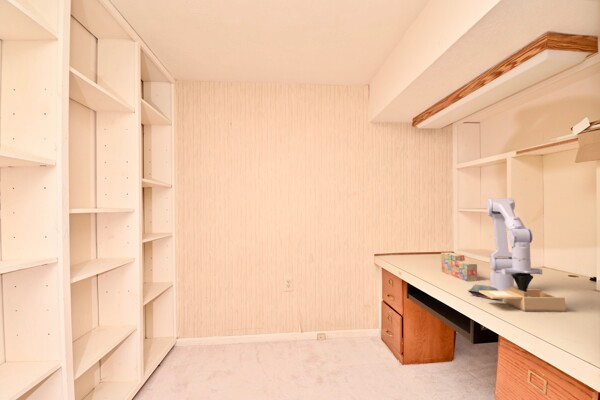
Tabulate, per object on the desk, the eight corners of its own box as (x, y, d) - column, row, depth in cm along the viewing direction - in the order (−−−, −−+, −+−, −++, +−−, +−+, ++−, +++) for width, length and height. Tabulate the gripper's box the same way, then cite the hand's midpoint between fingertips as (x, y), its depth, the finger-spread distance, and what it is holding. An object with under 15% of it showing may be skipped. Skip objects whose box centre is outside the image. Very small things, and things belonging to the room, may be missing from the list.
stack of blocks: (477, 281, 144) (477, 258, 144) (467, 281, 143) (466, 258, 143) (450, 271, 165) (449, 251, 165) (441, 272, 164) (440, 252, 165)
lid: (478, 291, 112) (478, 286, 112) (515, 291, 111) (514, 286, 111) (492, 298, 103) (492, 293, 103) (531, 298, 103) (531, 292, 103)
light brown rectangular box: (503, 301, 112) (503, 289, 113) (540, 301, 112) (539, 289, 112) (524, 311, 101) (524, 298, 102) (565, 311, 101) (564, 297, 101)
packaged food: (473, 291, 127) (473, 281, 127) (504, 297, 118) (504, 286, 118) (467, 296, 121) (467, 285, 121) (499, 302, 112) (498, 291, 112)
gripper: (509, 260, 104) (511, 295, 103) (548, 260, 103) (550, 295, 103) (497, 257, 111) (498, 289, 110) (533, 256, 110) (534, 289, 110)
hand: (522, 292), depth 107 cm, fingers closed
